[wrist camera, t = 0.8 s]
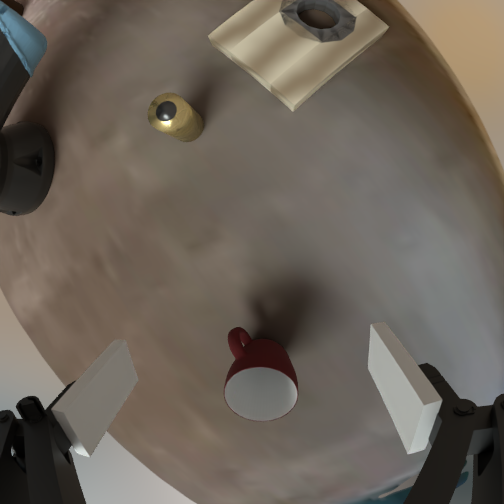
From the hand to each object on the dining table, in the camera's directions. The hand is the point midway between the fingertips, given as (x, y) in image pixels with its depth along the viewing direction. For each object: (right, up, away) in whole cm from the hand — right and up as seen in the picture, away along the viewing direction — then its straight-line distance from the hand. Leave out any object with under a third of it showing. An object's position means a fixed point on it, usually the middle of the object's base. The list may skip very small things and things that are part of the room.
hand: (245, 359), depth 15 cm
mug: (+1, -7, +25) cm, 26 cm away
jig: (+7, +33, +16) cm, 37 cm away
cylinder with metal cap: (-7, +21, +19) cm, 29 cm away
